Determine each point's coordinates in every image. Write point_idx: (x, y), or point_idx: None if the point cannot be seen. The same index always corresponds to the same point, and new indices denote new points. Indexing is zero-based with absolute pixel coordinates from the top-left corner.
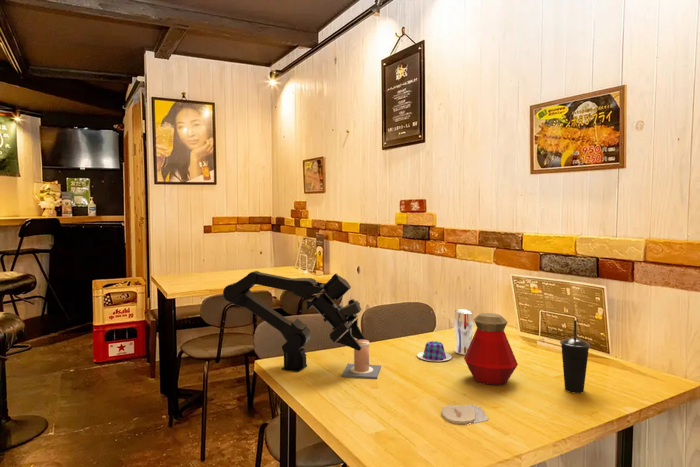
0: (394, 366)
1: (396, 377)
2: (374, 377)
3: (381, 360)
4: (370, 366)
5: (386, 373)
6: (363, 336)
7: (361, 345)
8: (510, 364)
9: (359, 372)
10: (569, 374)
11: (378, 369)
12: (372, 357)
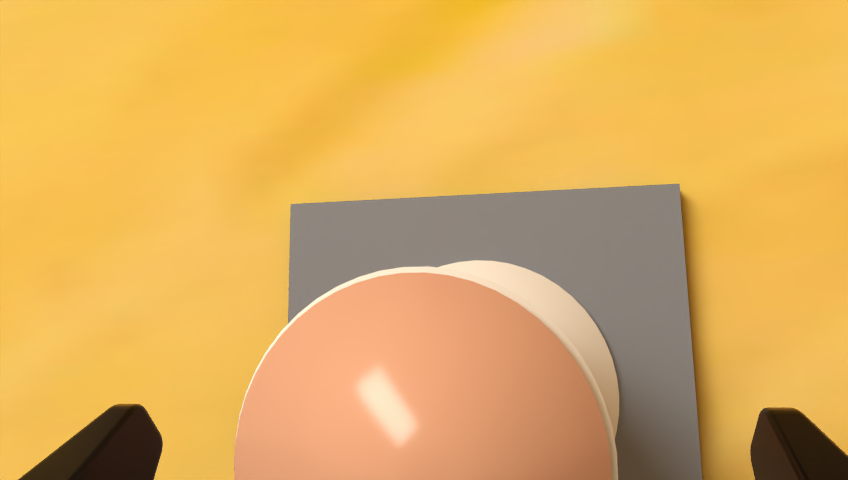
0: (255, 80)
1: (575, 3)
2: (680, 210)
3: (93, 239)
4: None
5: (477, 120)
6: (54, 470)
7: (610, 428)
8: None
9: None
10: None
11: (426, 207)
12: (10, 348)
